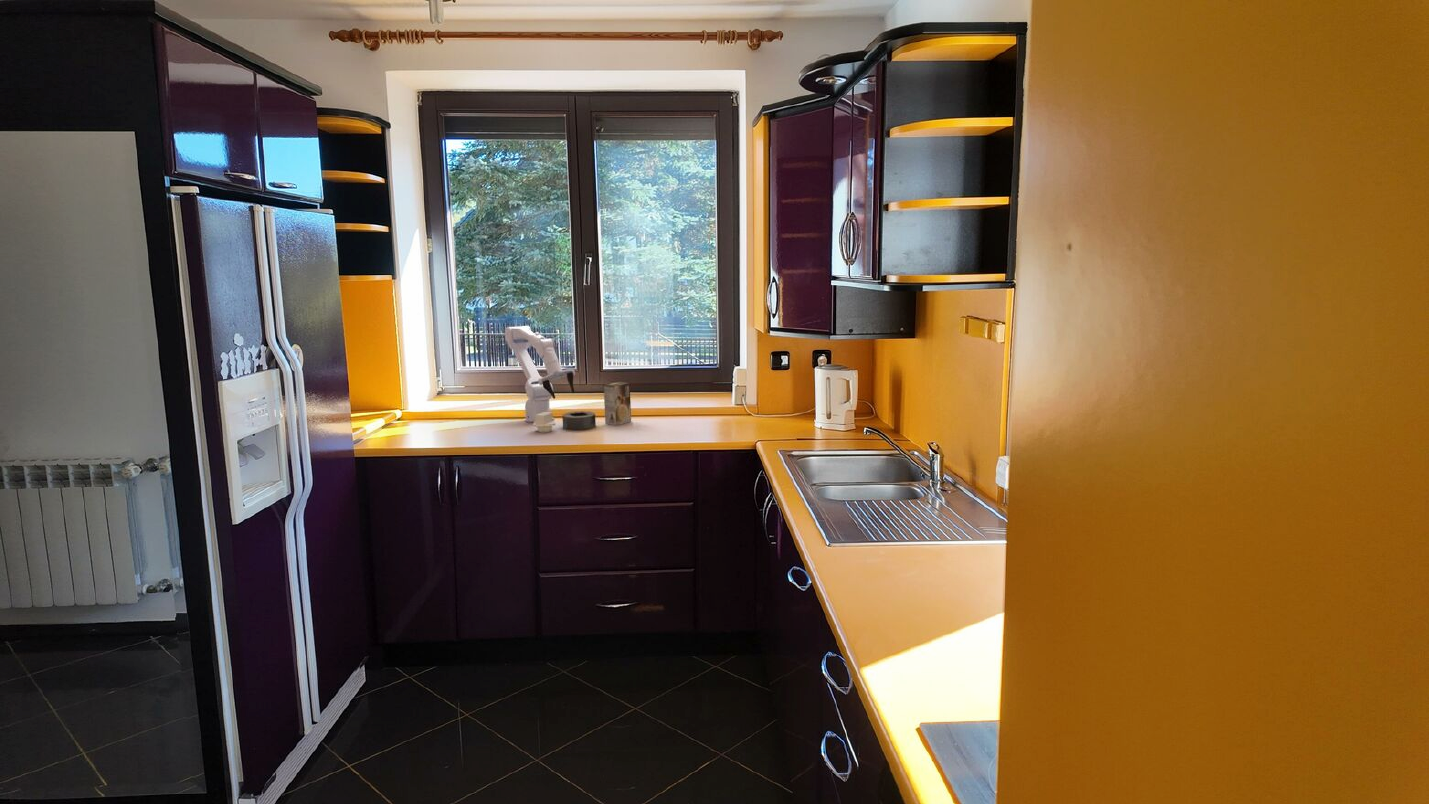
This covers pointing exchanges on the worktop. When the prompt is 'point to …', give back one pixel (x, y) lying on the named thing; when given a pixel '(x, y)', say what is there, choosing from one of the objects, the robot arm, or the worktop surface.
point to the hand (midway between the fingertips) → (563, 394)
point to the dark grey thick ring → (579, 420)
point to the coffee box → (617, 403)
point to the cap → (544, 422)
